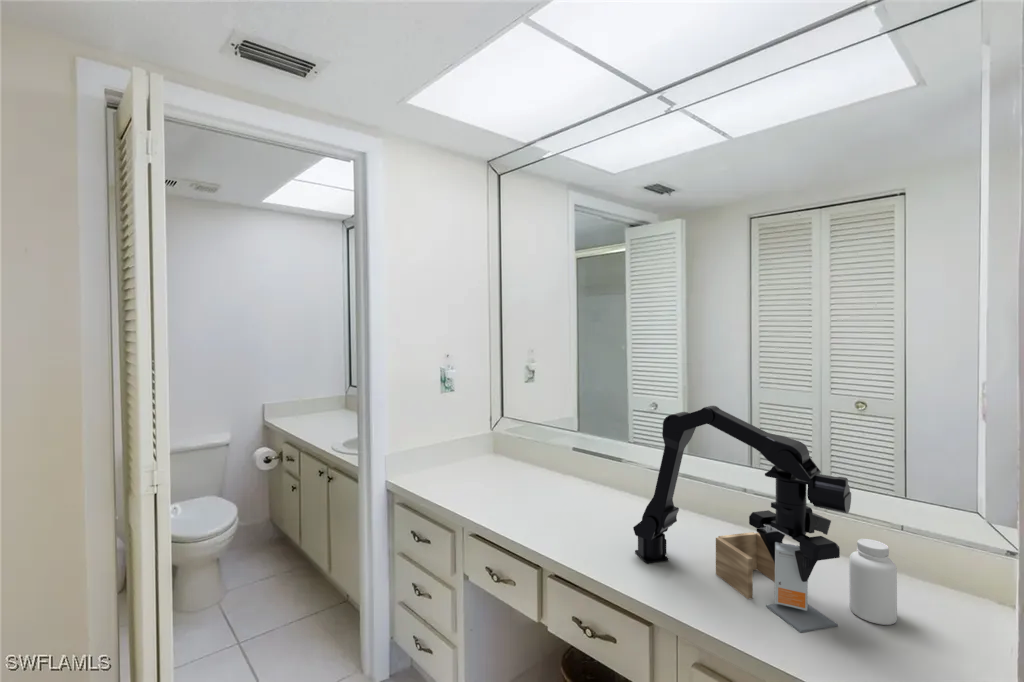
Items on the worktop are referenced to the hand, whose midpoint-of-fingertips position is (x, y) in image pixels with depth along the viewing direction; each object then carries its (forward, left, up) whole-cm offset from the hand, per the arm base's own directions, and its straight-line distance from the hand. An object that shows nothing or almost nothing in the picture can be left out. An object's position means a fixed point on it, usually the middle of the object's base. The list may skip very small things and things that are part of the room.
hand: (790, 572), depth 101 cm
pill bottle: (+15, -6, -8) cm, 18 cm away
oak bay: (0, +10, -8) cm, 13 cm away
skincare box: (0, 0, -7) cm, 7 cm away
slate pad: (0, -3, -8) cm, 8 cm away
